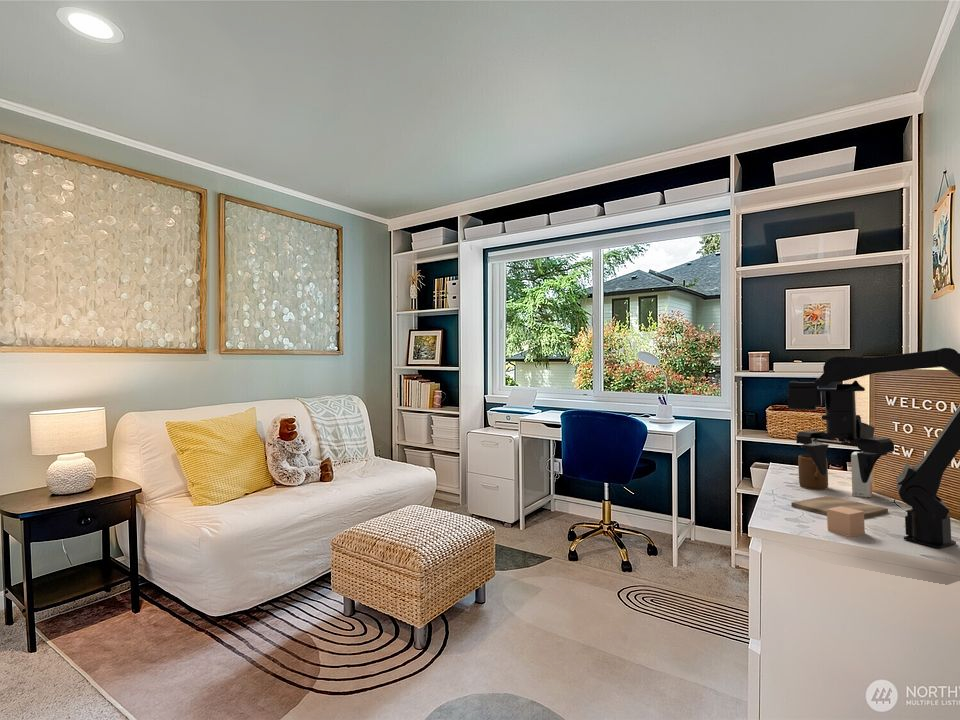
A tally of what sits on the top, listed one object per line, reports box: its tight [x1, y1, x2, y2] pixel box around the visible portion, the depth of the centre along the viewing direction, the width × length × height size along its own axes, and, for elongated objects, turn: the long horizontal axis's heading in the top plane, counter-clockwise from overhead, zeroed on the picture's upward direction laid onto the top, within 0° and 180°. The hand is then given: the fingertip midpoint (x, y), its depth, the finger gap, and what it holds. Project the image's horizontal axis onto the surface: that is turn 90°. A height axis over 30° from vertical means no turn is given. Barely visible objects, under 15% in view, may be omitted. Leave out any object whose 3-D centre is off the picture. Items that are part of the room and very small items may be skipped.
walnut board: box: [790, 495, 889, 519], centre depth 134 cm, size 15×15×1 cm
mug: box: [797, 454, 829, 491], centre depth 155 cm, size 12×8×9 cm, turn 160°
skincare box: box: [850, 451, 873, 498], centre depth 147 cm, size 6×4×12 cm
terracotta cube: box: [826, 506, 866, 538], centre depth 116 cm, size 5×5×5 cm
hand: (843, 478), depth 117 cm, fingers open, 9 cm apart
